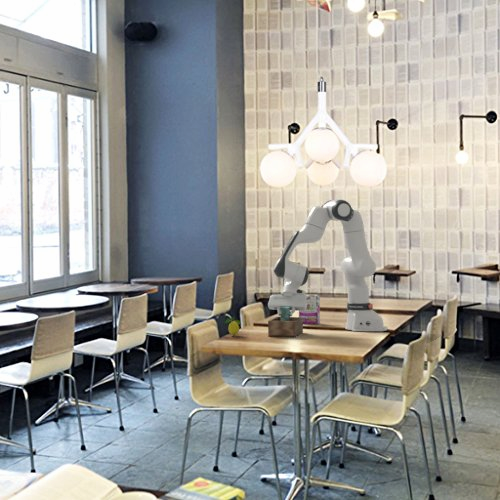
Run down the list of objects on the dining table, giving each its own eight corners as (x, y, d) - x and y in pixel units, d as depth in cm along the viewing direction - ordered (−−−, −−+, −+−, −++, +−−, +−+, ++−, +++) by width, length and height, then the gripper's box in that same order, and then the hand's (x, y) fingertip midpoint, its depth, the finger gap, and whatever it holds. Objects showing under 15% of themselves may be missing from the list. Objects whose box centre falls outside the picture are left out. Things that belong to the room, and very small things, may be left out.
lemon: (225, 336, 408) (224, 316, 408) (230, 334, 414) (230, 315, 413) (236, 337, 405) (236, 317, 405) (242, 335, 410) (241, 316, 410)
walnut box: (302, 332, 418) (302, 317, 417) (295, 337, 402) (295, 321, 401) (277, 331, 422) (276, 316, 422) (268, 336, 406) (268, 320, 405)
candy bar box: (320, 323, 451) (320, 294, 450) (317, 324, 447) (317, 295, 446) (301, 322, 455) (301, 294, 455) (298, 323, 451) (298, 294, 450)
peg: (290, 326, 413) (290, 306, 412) (288, 327, 409) (288, 307, 408) (282, 325, 414) (282, 306, 413) (280, 326, 410) (280, 307, 410)
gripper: (269, 290, 420) (264, 310, 411) (307, 291, 414) (303, 312, 405) (271, 297, 425) (266, 318, 416) (309, 298, 419) (305, 319, 410)
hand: (285, 315), depth 411 cm, fingers closed on peg, 4 cm apart
